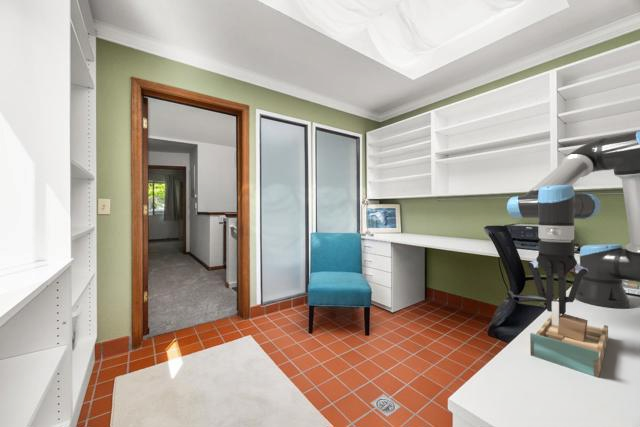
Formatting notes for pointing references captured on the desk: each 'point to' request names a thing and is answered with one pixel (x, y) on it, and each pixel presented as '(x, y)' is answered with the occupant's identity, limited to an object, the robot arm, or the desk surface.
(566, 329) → the block
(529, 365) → the desk surface
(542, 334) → the tray
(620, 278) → the robot arm
